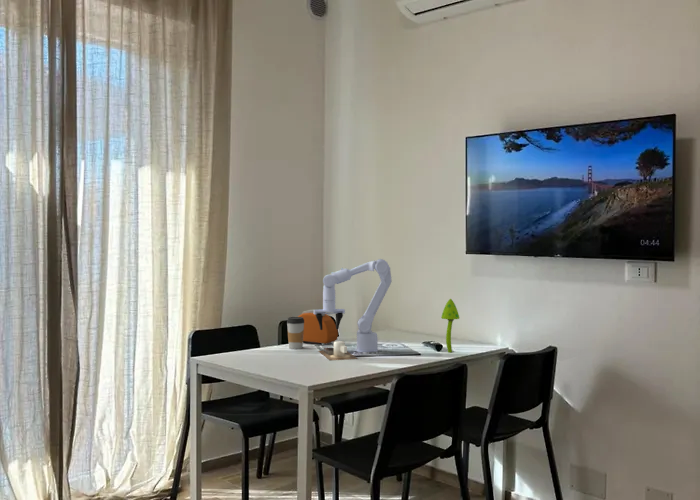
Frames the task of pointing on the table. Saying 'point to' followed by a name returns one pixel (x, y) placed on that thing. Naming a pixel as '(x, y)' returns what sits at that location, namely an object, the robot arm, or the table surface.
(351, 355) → the board
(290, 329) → the coffee cup
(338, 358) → the coaster
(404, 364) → the table surface
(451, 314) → the mushroom
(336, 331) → the orange toaster
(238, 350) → the table surface
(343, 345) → the cream tapered cylinder
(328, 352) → the socket
